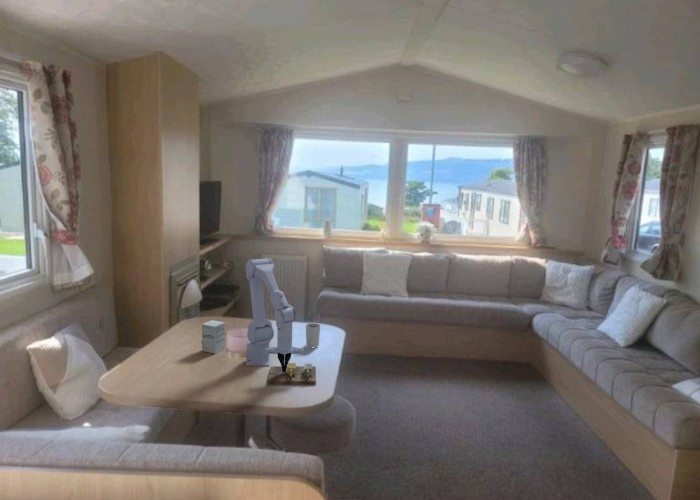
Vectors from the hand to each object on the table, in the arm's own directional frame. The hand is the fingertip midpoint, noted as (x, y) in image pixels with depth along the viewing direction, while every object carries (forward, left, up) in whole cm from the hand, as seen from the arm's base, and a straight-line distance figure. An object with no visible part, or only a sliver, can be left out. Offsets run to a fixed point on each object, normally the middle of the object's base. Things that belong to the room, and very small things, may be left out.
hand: (284, 371), depth 189 cm
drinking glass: (+11, +35, -3) cm, 37 cm away
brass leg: (+3, -2, -1) cm, 3 cm away
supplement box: (-33, +29, -3) cm, 44 cm away
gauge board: (+3, 0, -2) cm, 4 cm away
